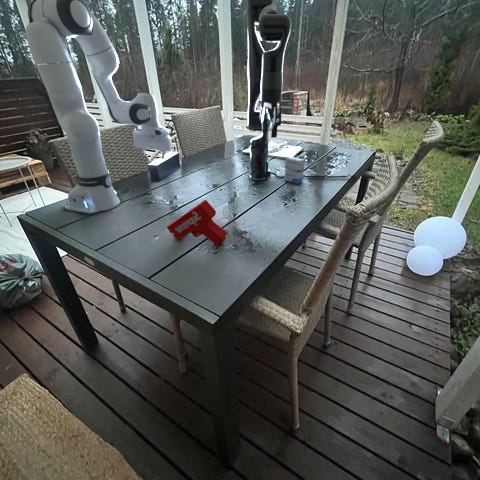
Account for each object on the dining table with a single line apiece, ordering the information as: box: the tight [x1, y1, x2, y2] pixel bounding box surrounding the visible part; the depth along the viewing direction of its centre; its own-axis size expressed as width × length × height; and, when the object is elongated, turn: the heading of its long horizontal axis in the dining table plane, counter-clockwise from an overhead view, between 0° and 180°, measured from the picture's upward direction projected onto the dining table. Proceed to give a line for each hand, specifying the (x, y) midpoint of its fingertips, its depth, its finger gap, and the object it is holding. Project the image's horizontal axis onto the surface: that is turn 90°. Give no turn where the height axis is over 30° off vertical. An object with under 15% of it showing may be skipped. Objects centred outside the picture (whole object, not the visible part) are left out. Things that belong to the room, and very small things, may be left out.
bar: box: [147, 151, 181, 182], centre depth 153 cm, size 25×5×9 cm, turn 165°
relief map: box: [242, 138, 304, 160], centre depth 192 cm, size 27×35×5 cm
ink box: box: [284, 156, 306, 185], centre depth 140 cm, size 8×5×12 cm, turn 47°
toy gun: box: [166, 199, 228, 248], centre depth 93 cm, size 18×4×15 cm
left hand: (154, 157), depth 142 cm, fingers open, 8 cm apart
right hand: (269, 135), depth 105 cm, fingers open, 8 cm apart
